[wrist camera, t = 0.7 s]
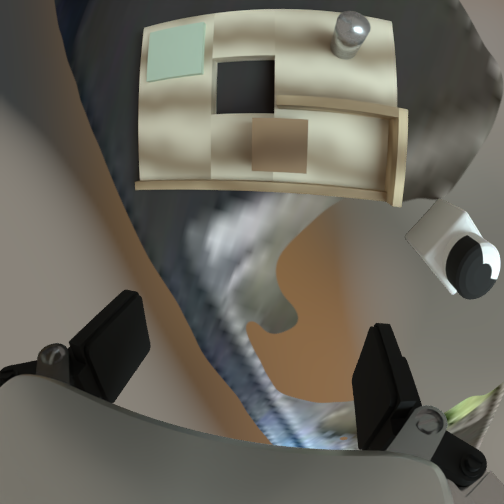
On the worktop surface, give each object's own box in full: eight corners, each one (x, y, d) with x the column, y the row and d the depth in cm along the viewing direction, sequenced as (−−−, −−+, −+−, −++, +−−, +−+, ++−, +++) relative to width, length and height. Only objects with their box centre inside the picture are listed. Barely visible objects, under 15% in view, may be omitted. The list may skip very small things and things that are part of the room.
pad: (153, 34, 25) (150, 32, 24) (205, 24, 24) (203, 21, 23) (149, 82, 28) (146, 81, 27) (203, 74, 27) (201, 73, 26)
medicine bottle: (431, 270, 32) (470, 320, 21) (402, 236, 31) (442, 279, 20) (465, 234, 30) (514, 271, 19) (438, 196, 29) (491, 223, 18)
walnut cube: (260, 122, 28) (252, 117, 23) (307, 123, 27) (308, 119, 23) (259, 167, 30) (251, 170, 25) (305, 169, 29) (306, 173, 24)
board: (151, 32, 27) (129, 20, 22) (387, 27, 22) (400, 10, 17) (148, 185, 35) (125, 193, 30) (386, 197, 30) (401, 207, 25)
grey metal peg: (329, 35, 23) (335, 8, 16) (356, 38, 22) (369, 13, 16) (330, 57, 24) (337, 35, 17) (357, 61, 23) (371, 40, 17)
